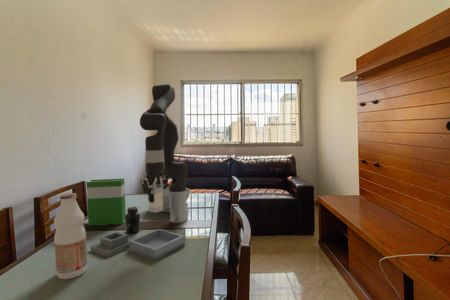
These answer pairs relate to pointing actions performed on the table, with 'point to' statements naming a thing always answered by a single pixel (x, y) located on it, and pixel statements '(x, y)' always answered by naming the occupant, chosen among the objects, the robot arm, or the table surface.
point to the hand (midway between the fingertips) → (155, 200)
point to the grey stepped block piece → (111, 244)
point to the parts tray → (156, 243)
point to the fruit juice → (70, 239)
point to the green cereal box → (106, 201)
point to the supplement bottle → (132, 220)
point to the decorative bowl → (167, 201)
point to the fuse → (157, 200)
